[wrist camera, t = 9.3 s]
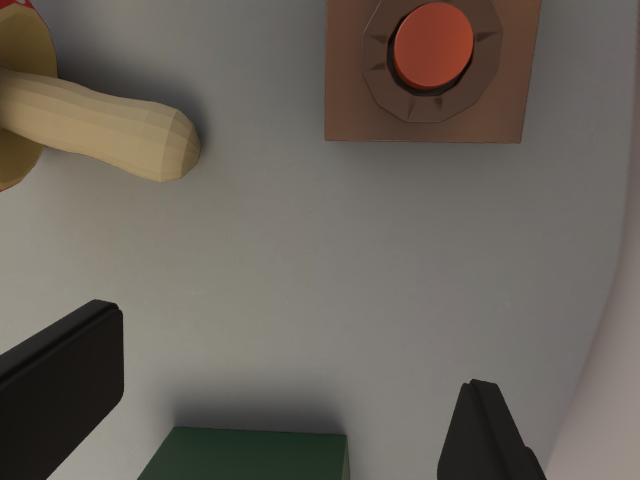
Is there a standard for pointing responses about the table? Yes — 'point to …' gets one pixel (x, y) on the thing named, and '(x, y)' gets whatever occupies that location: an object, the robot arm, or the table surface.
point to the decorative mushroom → (78, 112)
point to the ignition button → (432, 46)
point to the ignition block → (427, 105)
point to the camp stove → (248, 456)
